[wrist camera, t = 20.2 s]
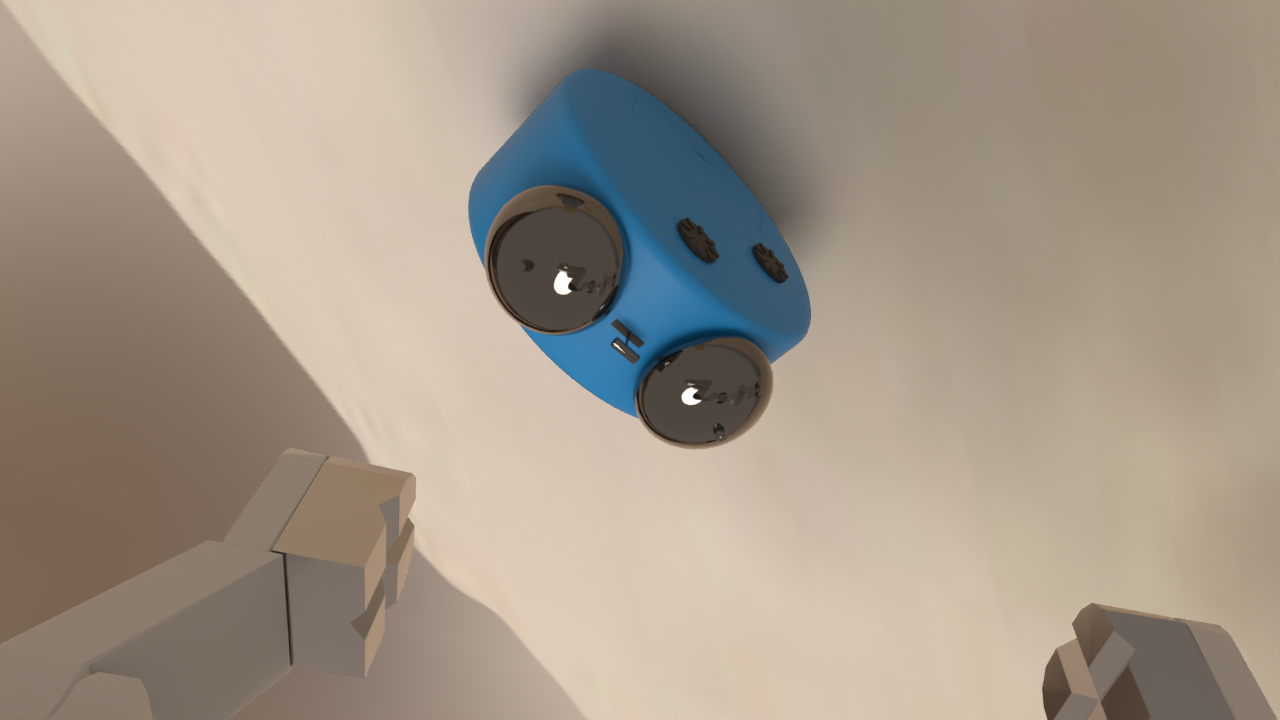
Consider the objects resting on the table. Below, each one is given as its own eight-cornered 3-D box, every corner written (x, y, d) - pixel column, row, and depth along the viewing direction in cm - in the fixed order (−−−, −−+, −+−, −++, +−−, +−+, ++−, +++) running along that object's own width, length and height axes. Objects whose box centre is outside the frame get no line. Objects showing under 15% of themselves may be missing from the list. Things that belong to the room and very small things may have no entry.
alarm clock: (506, 125, 41) (400, 286, 28) (600, 22, 38) (528, 151, 26) (712, 313, 45) (699, 526, 33) (810, 232, 42) (837, 431, 30)
